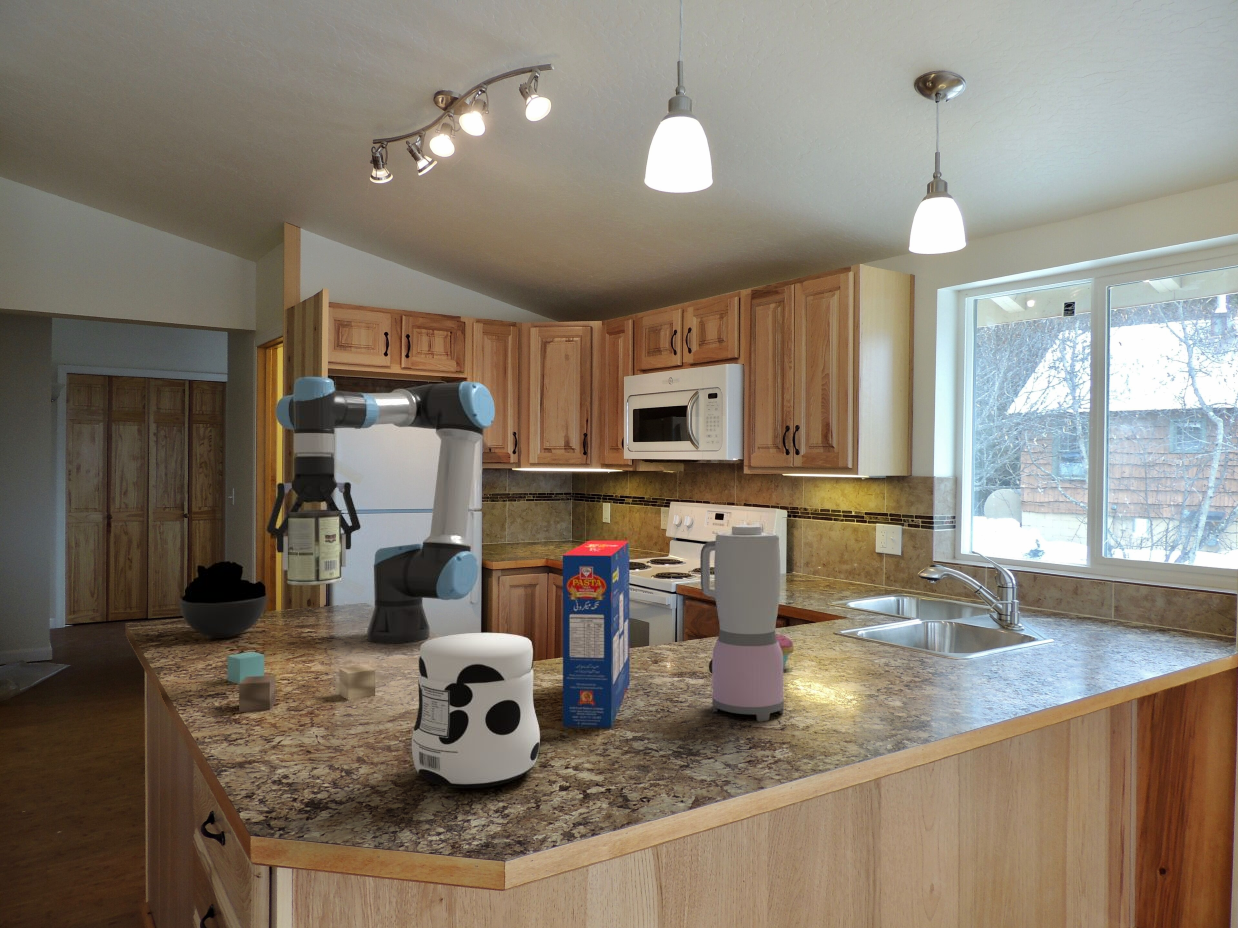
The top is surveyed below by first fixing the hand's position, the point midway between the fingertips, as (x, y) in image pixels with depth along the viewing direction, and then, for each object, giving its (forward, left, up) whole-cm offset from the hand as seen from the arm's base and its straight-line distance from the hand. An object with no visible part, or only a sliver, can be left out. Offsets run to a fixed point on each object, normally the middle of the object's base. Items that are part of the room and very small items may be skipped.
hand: (314, 567), depth 164 cm
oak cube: (-6, +14, -23) cm, 27 cm away
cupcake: (-88, +32, -23) cm, 96 cm away
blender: (-64, +54, -23) cm, 87 cm away
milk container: (-14, +63, -23) cm, 68 cm away
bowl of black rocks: (+15, -57, -23) cm, 63 cm away
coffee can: (0, 0, -3) cm, 3 cm away
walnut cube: (+11, +14, -23) cm, 29 cm away
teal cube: (+12, -8, -23) cm, 27 cm away
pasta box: (-44, +39, -23) cm, 63 cm away
